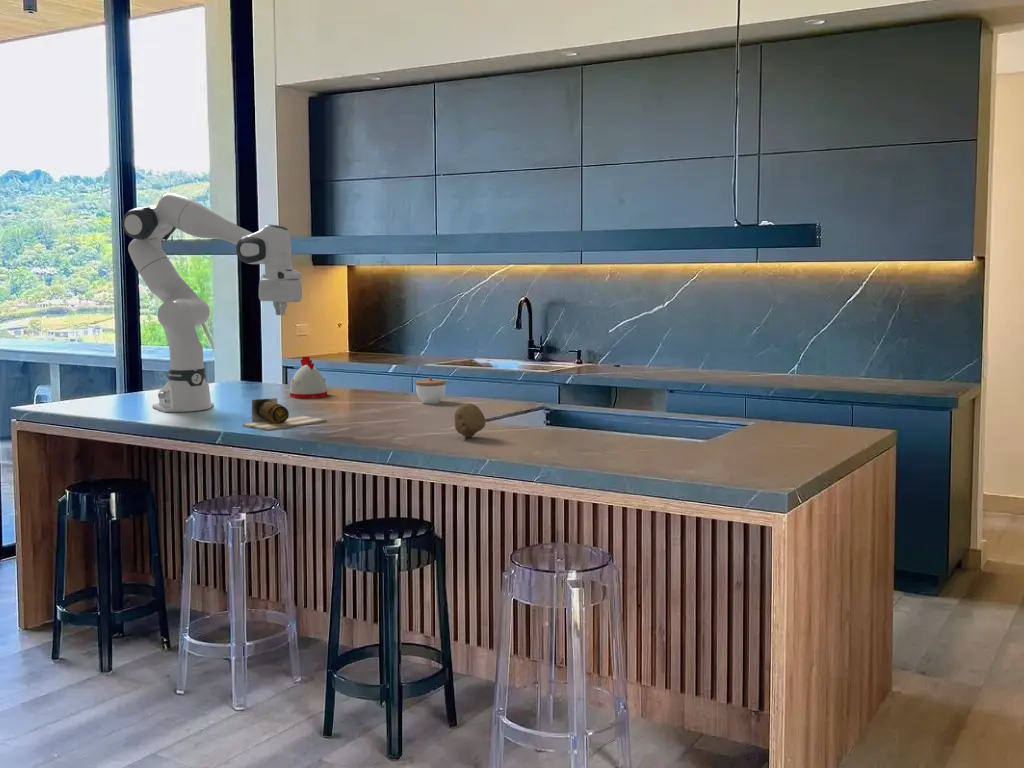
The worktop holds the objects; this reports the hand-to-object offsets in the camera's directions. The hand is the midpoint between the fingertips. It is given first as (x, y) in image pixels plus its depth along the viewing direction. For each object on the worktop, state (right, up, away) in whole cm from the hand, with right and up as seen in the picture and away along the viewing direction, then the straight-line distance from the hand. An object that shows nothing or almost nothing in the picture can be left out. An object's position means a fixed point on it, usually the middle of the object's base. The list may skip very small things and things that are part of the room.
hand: (280, 315), depth 349 cm
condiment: (-2, -31, -14) cm, 34 cm away
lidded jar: (+48, -30, +25) cm, 62 cm away
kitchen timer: (0, -28, +46) cm, 54 cm away
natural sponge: (+65, -39, -47) cm, 89 cm away
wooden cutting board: (+5, -36, -18) cm, 40 cm away
